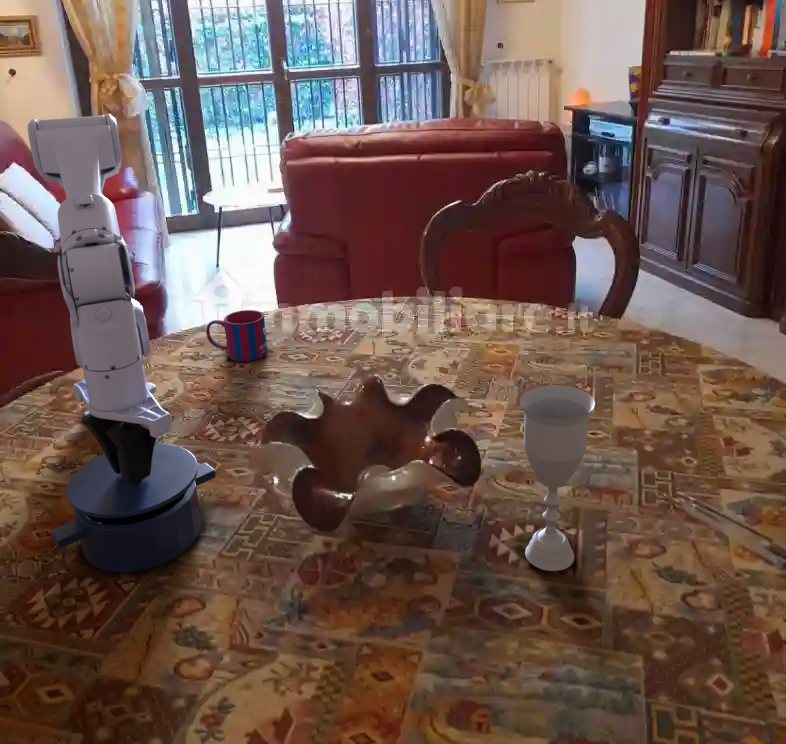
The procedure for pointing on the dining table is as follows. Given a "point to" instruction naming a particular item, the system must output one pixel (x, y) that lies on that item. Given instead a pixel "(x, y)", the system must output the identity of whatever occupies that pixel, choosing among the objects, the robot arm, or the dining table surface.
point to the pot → (138, 532)
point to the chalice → (554, 460)
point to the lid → (131, 484)
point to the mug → (243, 335)
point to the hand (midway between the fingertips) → (132, 473)
